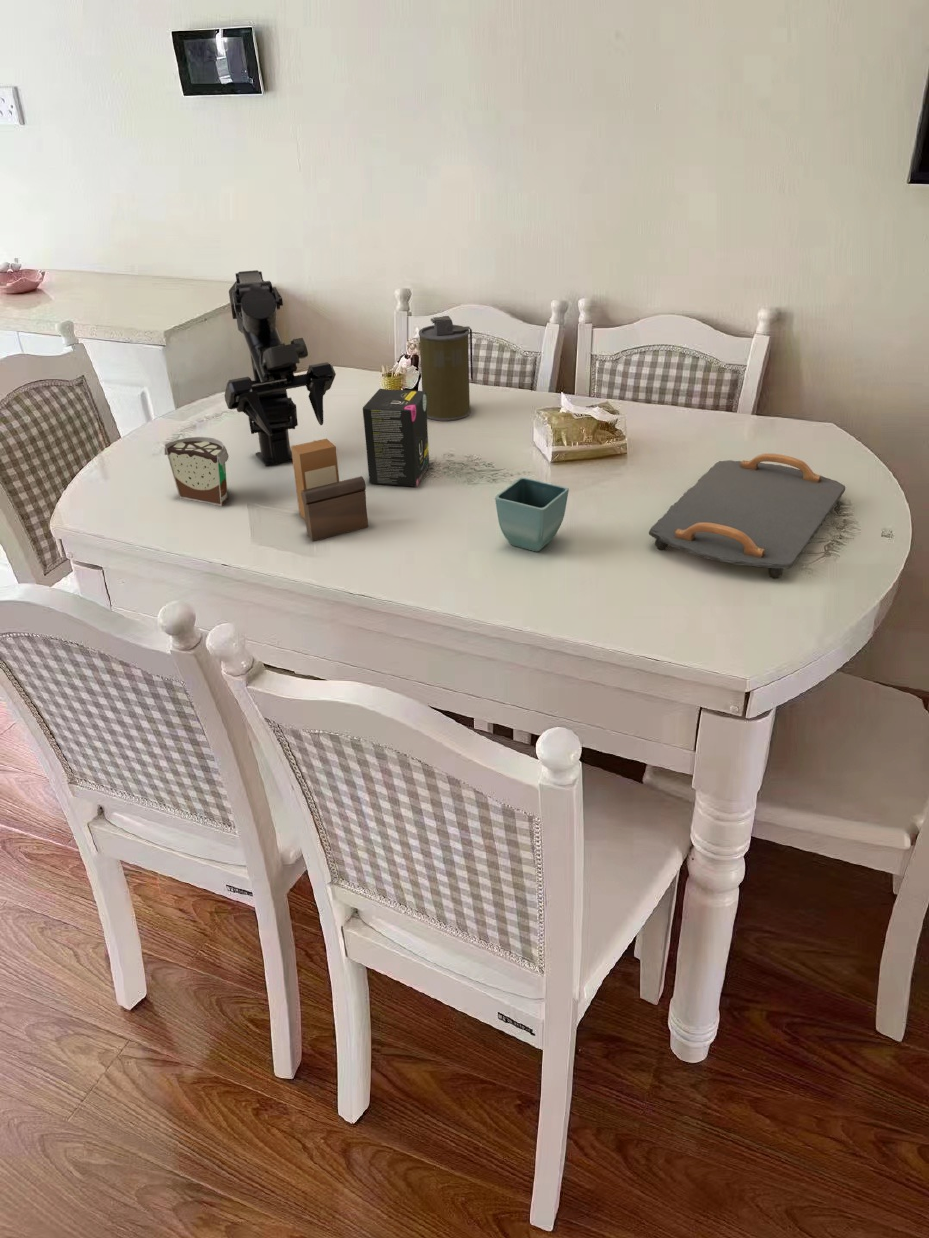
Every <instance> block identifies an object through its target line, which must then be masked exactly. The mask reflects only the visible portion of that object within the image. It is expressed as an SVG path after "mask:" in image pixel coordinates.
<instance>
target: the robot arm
mask: <svg viewBox="0 0 929 1238" xmlns="http://www.w3.org/2000/svg"><path fill="white" fill-rule="evenodd" d="M228 296H229V304H230V311H231V316H232V320H236V327H237V330H238V331H239V332H240V333H241V334H243V337H244V339H245V342H246V345H247V347H248V350H249V356H250V363H251V367H252V374H253V380H252V378H251V377H250V376H244V377H239V378H232V379H229V380H228V381H227V383H226V387H225V390H224V401H225V405H226V406H227V409H228V410H235V409H236V412H237V413H243V414H245V415H246V416H247V417H248V423H249V424H248V425H249V430H250V434H251V435H254V434H257V435H258V444H259V451H257V452H255V457H256V458H257V459H258V460H259V461H260V462H261V463H262V464H263V465H264V466H266V467H270V466H273V465H278V464H282V463H287V462H293V459H292V451H291V443H290V436H289V430H296V427H298V426H299V422H298V411H297V404H295V402H294V401H293V399H292V397H289V396H288V391H287V390H291V389H296V388H301V387H306V391H308V392H309V394H308V400H309V402H310V405H311V407H312V410H313V413H314V416H315V418H316V420H317V421H316V422H318V424H319V426H323V425H324V396H325V395H326V393H327V391H329V390H331V388H332V385H333V383H334V380H335V377H336V374H337V373H336V371H335V368H334V366H333V365H332V364H331V363H329V362H328V361H326V362H320V363H315V364H310V365H308V368H307V371H306V373H304V374H297V375H295V373H296V372H297V370H298V365H297V364H300V363H301V361H300V360H302V359H306V358H307V357H308V356H309V352H308V347H307V344H306V342H305V339H304V338H303V337H299V338H293V339H292V340H290V344H289V343H288V344H286V343H285V342H284V343H283V341H282V339H281V337H280V334H279V332H278V329H277V327H278V310H281V307H282V306H284V303H283V297H282V295H281V293H280V292H279V291H278V289H277V287H276V286H273V284H272V281H271V280H264V278H263V271H259V270H258V269H256V270H243V271H238V272H236V273H235V282H234V283H233V284H232V286H231V287H230V289H229V290H228Z"/></svg>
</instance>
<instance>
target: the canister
mask: <svg viewBox="0 0 929 1238" xmlns="http://www.w3.org/2000/svg"><path fill="white" fill-rule="evenodd" d="M430 322H431V323H432V325H427V326H425V327H423V328H421V329H420V330H419V331H418V336H419V354H420V370H421V371H420V374H421V375H420V377H421V391H426V398H427V419H429V420H434V421H436V422H440V421H441V422H450V421H451V422H452V421H458V420H461V419H464V418H466V417H468V416H469V415H471V413H472V409H471V402H470V401H471V400H470V379H471V381H474V376H473V375H474V372H473V370H474V369H473V367H474V366H473V363H474V362H473V329H472V328H471V327H470V326H469V325H468V326H467V325H466V326H464V325H459V324H454V323H453V320H452V319H451V317H450V316H449V315H443V316H436V317H434V316H433V317H432V318H431V317H430ZM469 359H470V360H469Z"/></svg>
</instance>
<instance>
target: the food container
mask: <svg viewBox="0 0 929 1238" xmlns="http://www.w3.org/2000/svg"><path fill="white" fill-rule="evenodd" d="M163 451H164V452H163V453H164V456H167V459H168V462H169V466H170V470H171V473H172V477H173V480H174V482H175V483H174V484H175V487H176V491H177V494H178V497H179V498H180V499H185V500H189V501H195V502H199V503H204V504H208V505H214V506H218V507H223V506H224V505H225V504H226V503H227V501H228V500H229V498H228V484H227V467H226V463H227V461H228V460H229V456H230V455H229V452H228V450H227V448H226V446H225V445H224V443H223V442H222V441H221V440H219V439H217V438H214V437H207V436H191V437H185V438H184V437H183V438H179V439H176V440H172V441H170V442H167V443H165V444H164V448H163Z"/></svg>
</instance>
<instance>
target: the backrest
mask: <svg viewBox="0 0 929 1238" xmlns="http://www.w3.org/2000/svg"><path fill="white" fill-rule="evenodd" d="M365 480H366V479H365V478H364V477H363V476H355V477H353V478H349V479H344V480H339V482H335V483H331V484H327V485H323V486H319V487H314V488H310V489H306V490H302V491H301V497H302V501H303V505H304V513H305V519H304V521H305V528H306V535H307V537H308V538H309V539H310V541H312V542H316V541H320V540H324V539H327V538H331V537H335V536H338V535H343V534H346V533H350V532H354V531H358V530H361V529H365V528H368V527H369V518H368V508H367V506H368V505H367V497H366V490H367V483H366V481H365Z"/></svg>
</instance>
